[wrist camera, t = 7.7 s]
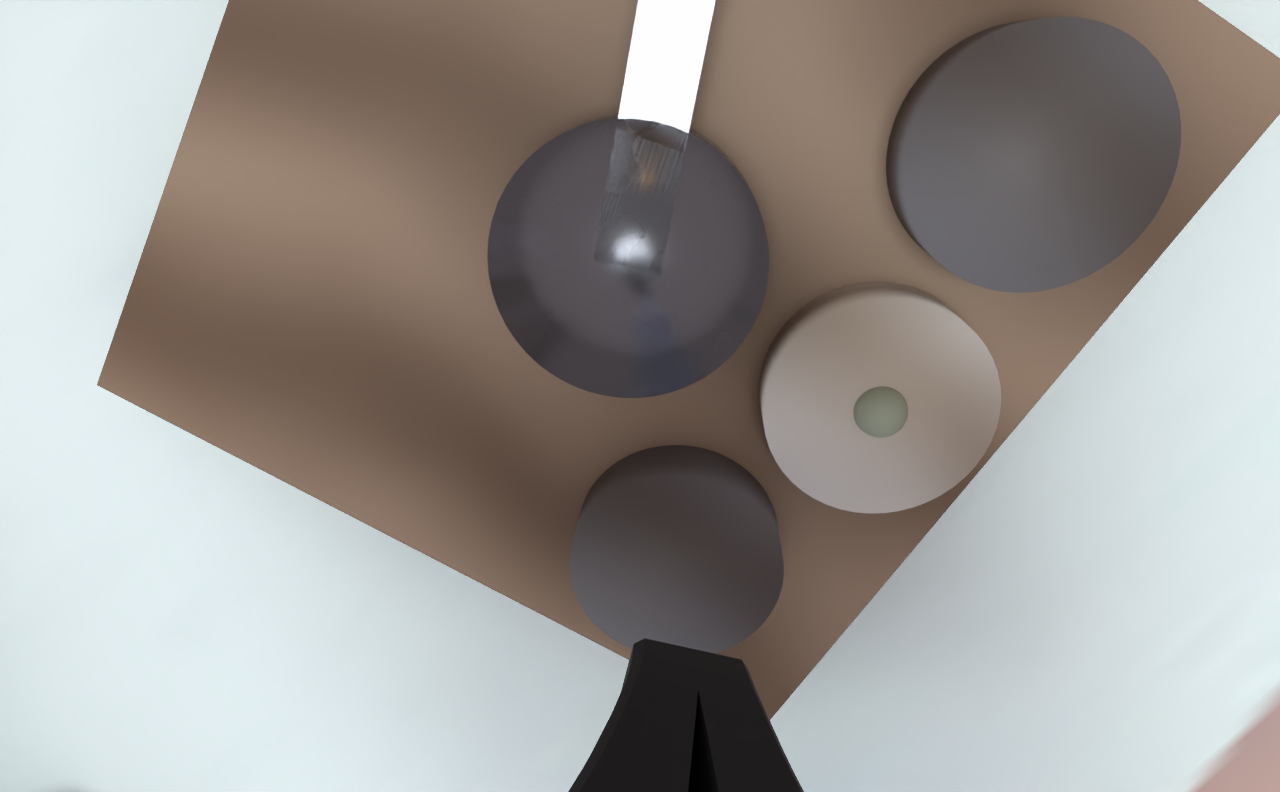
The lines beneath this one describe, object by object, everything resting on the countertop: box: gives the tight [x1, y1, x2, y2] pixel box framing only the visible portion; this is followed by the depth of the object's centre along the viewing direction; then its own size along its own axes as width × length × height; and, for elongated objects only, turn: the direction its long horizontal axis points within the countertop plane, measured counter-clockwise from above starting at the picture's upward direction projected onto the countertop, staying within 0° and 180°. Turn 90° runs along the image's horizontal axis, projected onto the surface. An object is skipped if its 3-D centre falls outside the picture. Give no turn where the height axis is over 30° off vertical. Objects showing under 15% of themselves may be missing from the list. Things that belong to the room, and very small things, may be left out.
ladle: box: [487, 0, 769, 398], centre depth 13 cm, size 10×5×4 cm, turn 169°
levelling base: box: [97, 0, 1280, 720], centre depth 16 cm, size 17×17×3 cm
